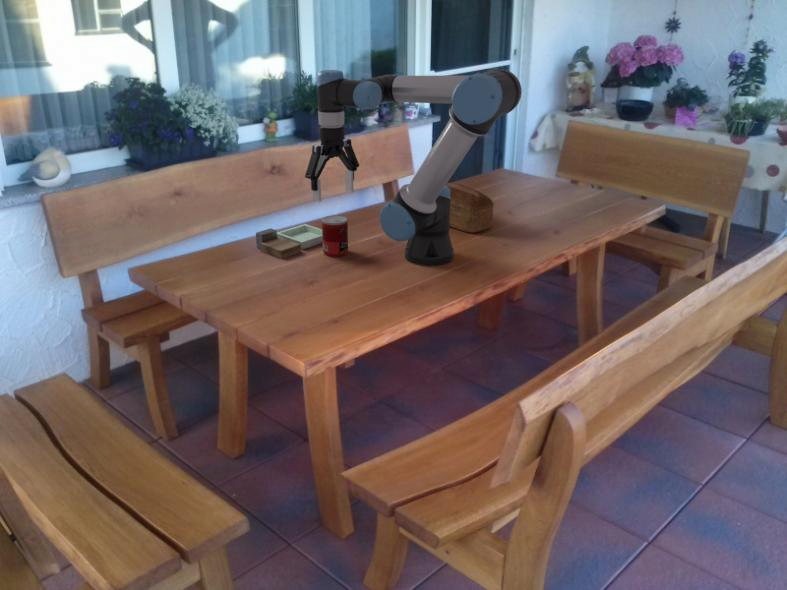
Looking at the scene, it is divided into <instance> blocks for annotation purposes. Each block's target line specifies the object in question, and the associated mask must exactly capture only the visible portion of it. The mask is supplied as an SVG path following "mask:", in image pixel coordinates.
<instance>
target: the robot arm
mask: <svg viewBox="0 0 787 590" xmlns="http://www.w3.org/2000/svg"><path fill="white" fill-rule="evenodd" d="M316 76H317V77H316V78H317V80H316V91H317V104H318V105H317V106H318V108H317V112H318V113H317V114H318V116H317V117H318V125H319V127H318V138H319V140H320V145H316V144H313V145H312V146H311V155H310V159H309V161H308V165H307V169H306V171H305V175H304V178H305V179H309V180H310V185H311V186H310V187H311V191H312V200H313V201H315V202H319V203H320V202H322V184H321V183H322V182H321V179H319V178H320V176H321V174H322V173H323V171H324V169H325V166H326V164H327V162H328V161H330V160H331V159H333V158H338V159H339V160H340V161H341V163H342V164H343V166H345V170H344V176H345V177H344V178H345V179H344V181H345V186H344V187H345V190H344V191H345V192H348V193H354V180H355V172H356V171H358V168H359V167H360V163H359V161H358V158H357V156H356V153H355V151H354V149H353V145H352V140H351V138H346V137H345V132H346V131H345V126H344V125H345V107H346V108H352V109H359V110H363V111H365V110H370V111H371V110H375V109H377V107H378V106H380V105H381V104H384V103H410V104H411V103H413V104H414V103H415V104H448V105H449V104H451V106H450V108H449V109H448V114H449V117H450V118H449V120H448V122H446V125H445V127H444V128H443V129H442V131H441V132H440V135H439V136H438V138H437V139H436V141H435V143H434V144H433V146H432V147H431V148H430V151H429V152H428V153H427V155H426V157H425V159H424V160H423V162H422V163H421V165H420V167H419V168H418V170H417V171H416V173H415V175H414V176H413V178H412V179H411V181H410V183H409V184H407V183H406V184H403V185H401V187H400V188H399V190H398V192H397V193H396V195H395V197H394V198H393V199H392V201H389V202H387V203H386V204H385V205H383V206H382V208H381V209H380V212H379V222H380V225H381V229H382V230H383V232H384V233H385V235H386V236H387V237H388V238H390V239H391V240H393V241H396V242H405V241H407V243H406V246H405V248H404V259H405V260H406V261H408V262H409V263H412V264H415V265H419V266H431V267H432V266H434V267H435V266H442V265H446V264H449V263H451V262H453V260H454V259H455V258H454V256H455V251H454V248H453V243H452V240H451V236H450V226H449V221H450V200H451V197H450V189H449V188H448V187H447V186H445V185H446V184H447V182H450V179H451V178H452V176H453V175H454V174H455V172H456V170H457V169H458V167H459V165H461V163H462V162H463V160H464V158H465V157H466V155H467V154H468V152H469V151H470V149H471V147H472V146H473V145H474V143H475V142H476V140H477V139H478V137H484V136H486V135H487V134H488V133H489V131H490V130H491V128H492V127H493V125H495V122H496V121H497V119H498V118H499V117H502V116H504V115H507V114H509V113H511V112H513V110H515V108H516V107H517V106H518V105H519V102H520V100H521V98H522V92H523V91H522V85H521V81H520V80H519V78H518V77H517V76H516V75H515V74H514V73H513V72H511V71H509V70H507V69H501V68H500V69H499V68H498V69H492V70H489V71H478V72H476V73H473V74H471V75H397V74H393V73H392V74H391V73H390V74H388V73H387V74H383V75H379V76H376V77H369V78H365V79H357V80H356V79H346V78H345V77H344V72H343V71H341V70H338V69H325V70H320V71H319V72H318V73H317V75H316Z"/></svg>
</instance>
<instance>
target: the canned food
mask: <svg viewBox="0 0 787 590" xmlns="http://www.w3.org/2000/svg"><path fill="white" fill-rule="evenodd" d="M348 223H349V221H348V218H347V217H345V216H344V215H343V216H341V215H329V216H324V217H323V218H322V219H321V229H322V240H323V243H322V252H323V254H324V255H325V256H327V257H334V258H335V257H338V258H339V257H343V256H345V255H347V254H348V252H349V229H348V228H349V225H348Z"/></svg>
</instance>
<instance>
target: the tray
mask: <svg viewBox="0 0 787 590" xmlns="http://www.w3.org/2000/svg"><path fill="white" fill-rule="evenodd" d="M279 237H281V238H284V239H287V240H289V241H292V242H295V243H298V244H301V251H303V250H305V249H308V248H311V247H315V246H318V245H321V244H323V240H322V228H319V227H316V226H312V225H311V224H310V225H309V224H307V223H304V224H300V225H298V226H294V227H291V228H287V229H284V230H281V231H277V238H279Z"/></svg>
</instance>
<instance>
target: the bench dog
mask: <svg viewBox="0 0 787 590" xmlns="http://www.w3.org/2000/svg"><path fill="white" fill-rule="evenodd" d="M277 232H278V231H277V229H273V228H268V229H264V230H260V231H257V232H255V242H256V248H257V249H259V250H261V249H260V243H263V242H266V241H269V240H272V239H275V238H277Z"/></svg>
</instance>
